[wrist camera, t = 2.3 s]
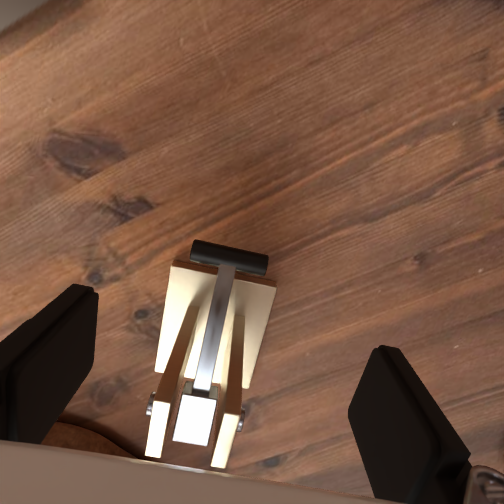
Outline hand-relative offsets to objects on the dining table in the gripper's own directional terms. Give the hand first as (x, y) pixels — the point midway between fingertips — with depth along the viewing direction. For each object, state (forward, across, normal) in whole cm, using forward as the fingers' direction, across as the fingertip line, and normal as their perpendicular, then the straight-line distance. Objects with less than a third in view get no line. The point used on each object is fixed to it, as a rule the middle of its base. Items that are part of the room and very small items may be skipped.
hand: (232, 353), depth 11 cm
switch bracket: (+17, +1, +10) cm, 20 cm away
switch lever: (+10, +1, +6) cm, 12 cm away
